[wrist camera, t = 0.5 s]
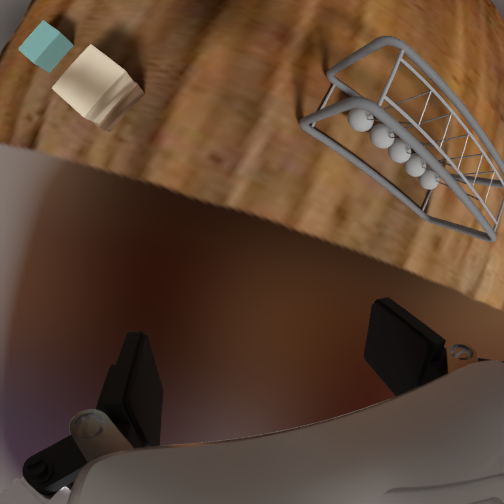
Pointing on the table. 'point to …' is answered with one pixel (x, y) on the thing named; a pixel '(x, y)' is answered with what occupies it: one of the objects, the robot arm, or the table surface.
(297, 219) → the table surface
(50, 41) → the teal block
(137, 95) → the tower base
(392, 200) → the table surface
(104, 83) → the tower mid
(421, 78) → the newton's cradle
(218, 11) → the table surface
